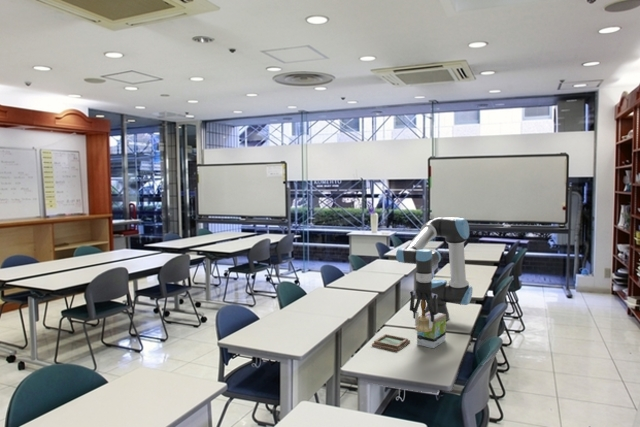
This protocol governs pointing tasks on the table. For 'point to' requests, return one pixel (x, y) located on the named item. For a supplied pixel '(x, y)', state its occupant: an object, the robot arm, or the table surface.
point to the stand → (391, 342)
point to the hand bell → (423, 320)
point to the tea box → (433, 332)
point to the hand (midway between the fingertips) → (423, 326)
